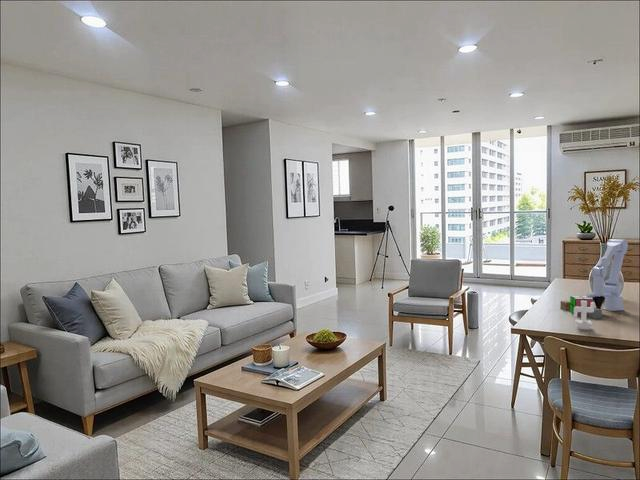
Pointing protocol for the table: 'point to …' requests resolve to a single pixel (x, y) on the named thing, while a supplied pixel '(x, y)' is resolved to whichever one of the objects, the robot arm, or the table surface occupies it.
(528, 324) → the table surface
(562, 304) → the walnut block
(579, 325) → the figurine
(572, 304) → the puzzle cube
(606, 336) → the table surface
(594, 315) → the charcoal block
